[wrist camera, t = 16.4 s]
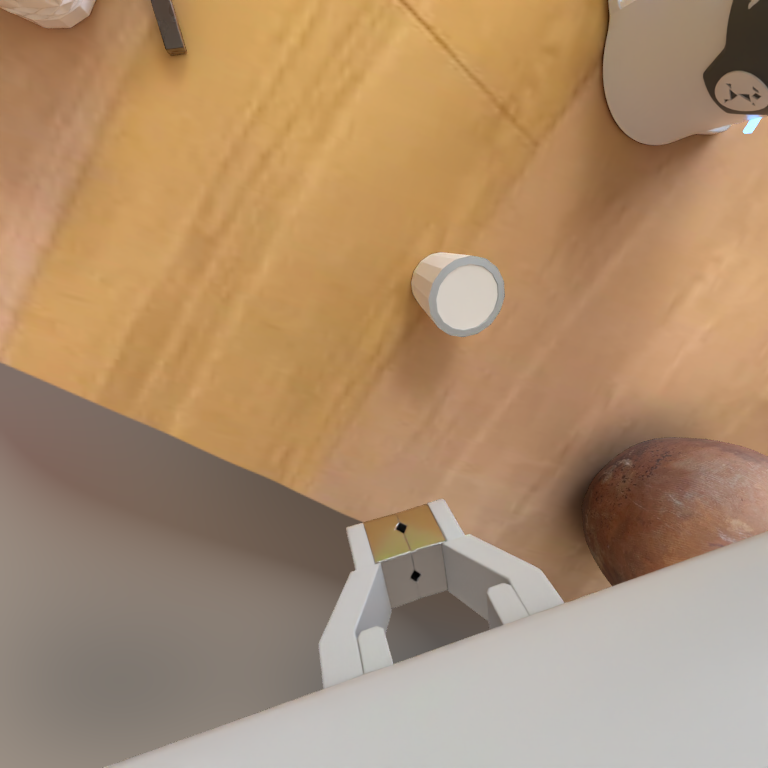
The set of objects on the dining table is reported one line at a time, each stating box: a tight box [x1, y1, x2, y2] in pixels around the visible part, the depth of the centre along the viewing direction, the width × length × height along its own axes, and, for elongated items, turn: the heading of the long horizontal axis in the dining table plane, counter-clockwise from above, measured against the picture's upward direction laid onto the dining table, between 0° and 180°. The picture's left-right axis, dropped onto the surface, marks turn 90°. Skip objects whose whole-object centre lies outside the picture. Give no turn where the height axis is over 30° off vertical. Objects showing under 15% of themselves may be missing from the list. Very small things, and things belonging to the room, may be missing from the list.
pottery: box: [582, 437, 768, 586], centre depth 50 cm, size 23×23×25 cm
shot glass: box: [411, 252, 505, 337], centre depth 40 cm, size 7×7×7 cm
